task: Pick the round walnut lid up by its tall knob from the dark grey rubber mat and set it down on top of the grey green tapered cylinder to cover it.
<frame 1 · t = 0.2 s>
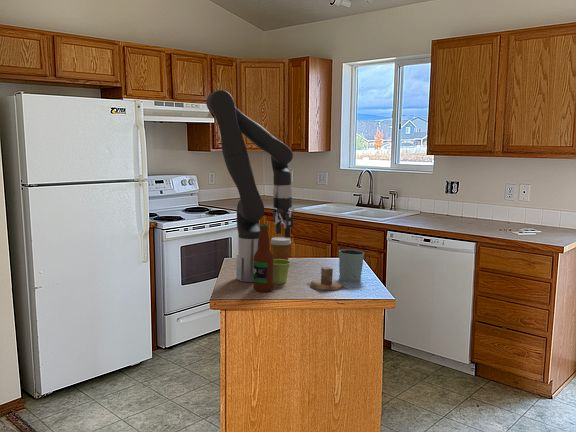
hand: (283, 235, 212), 17 cm above the table, tool pointing down, fingers open, 8 cm apart
grey green tapered cylinder: (350, 280, 212), on the table
mat: (326, 287, 200), on the table
bottle: (263, 290, 196), on the table
disposable coffee cup: (280, 265, 236), on the table
lid: (326, 286, 200), point 1 cm above the table, touching mat
plant pot: (278, 283, 205), on the table
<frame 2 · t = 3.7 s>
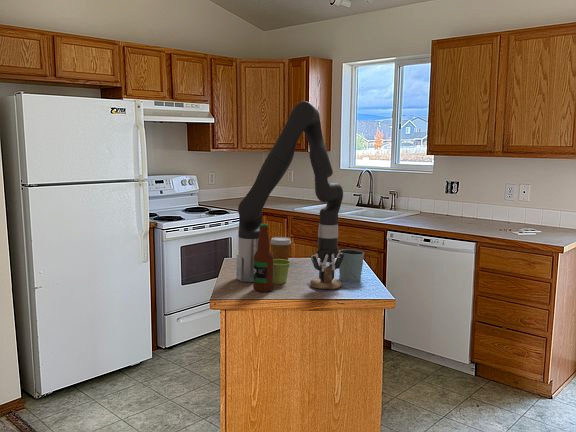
hand: (326, 279, 200), 3 cm above the table, tool pointing down, fingers closed on lid, 3 cm apart
lid: (325, 284, 200), point 1 cm above the table, touching gripper
everything else where it was.
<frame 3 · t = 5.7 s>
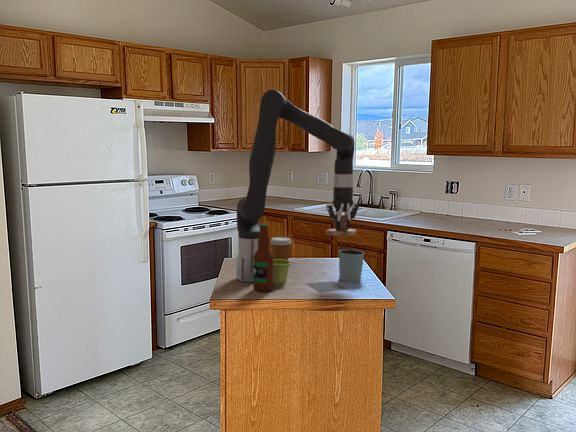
hand: (342, 229, 203), 22 cm above the table, tool pointing down, fingers closed on lid, 3 cm apart
lid: (341, 233, 204), point 20 cm above the table, touching gripper
everything else where it was.
when the fingers open (16 cm above the table, at t = 7.8 s): lid drops 2 cm, resting on grey green tapered cylinder.
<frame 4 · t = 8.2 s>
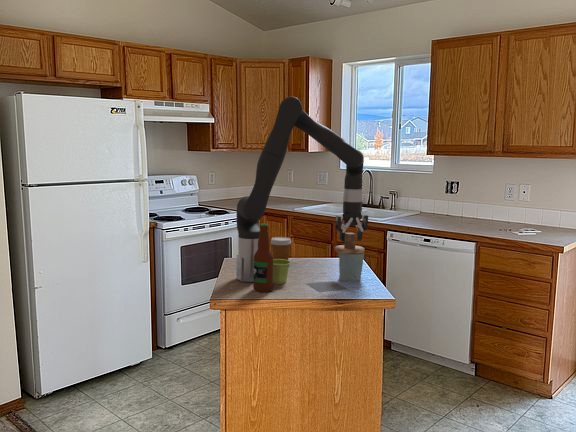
hand: (351, 241, 210), 16 cm above the table, tool pointing down, fingers open, 7 cm apart
grey green tapered cylinder: (350, 280, 212), on the table, touching lid
lid: (349, 250, 211), point 12 cm above the table, touching grey green tapered cylinder
everything else where it was.
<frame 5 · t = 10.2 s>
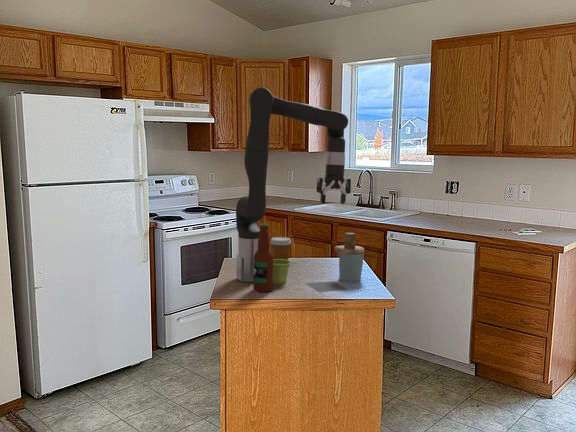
hand: (332, 203, 211), 31 cm above the table, tool pointing down, fingers open, 8 cm apart
nothing on the table moved.
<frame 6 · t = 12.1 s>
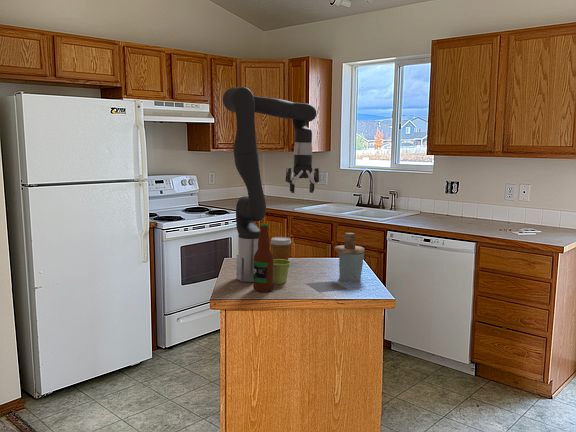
hand: (302, 192, 218), 34 cm above the table, tool pointing down, fingers open, 8 cm apart
nothing on the table moved.
at the end: lid inside the target area on the grey green tapered cylinder (1.2 cm from its centre), point 12.2 cm above the grey green tapered cylinder's base; lid tilted 0°; the gripper is holding nothing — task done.
